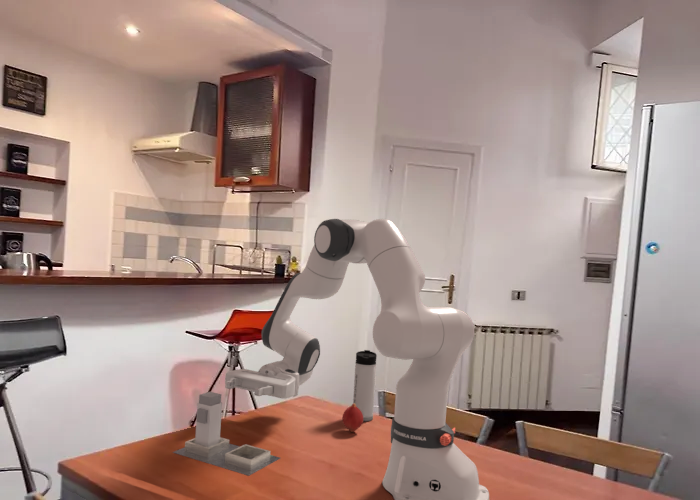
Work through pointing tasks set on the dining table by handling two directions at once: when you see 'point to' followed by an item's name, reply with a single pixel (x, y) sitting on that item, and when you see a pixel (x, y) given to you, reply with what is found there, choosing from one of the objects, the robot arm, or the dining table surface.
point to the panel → (229, 456)
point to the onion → (352, 418)
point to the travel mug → (365, 383)
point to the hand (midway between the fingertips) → (241, 389)
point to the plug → (208, 419)
